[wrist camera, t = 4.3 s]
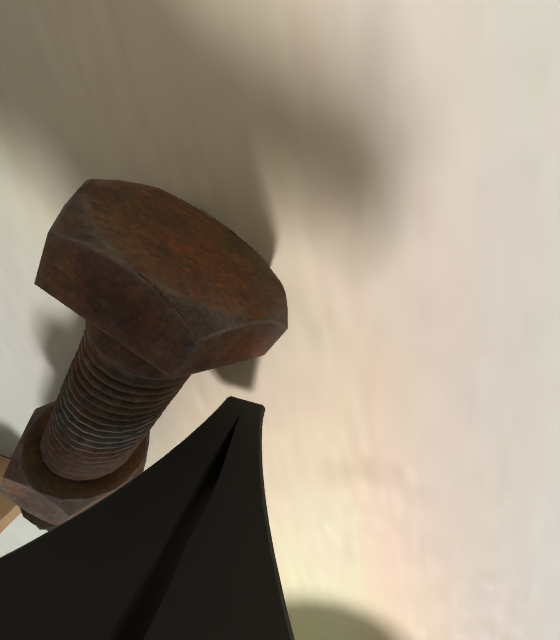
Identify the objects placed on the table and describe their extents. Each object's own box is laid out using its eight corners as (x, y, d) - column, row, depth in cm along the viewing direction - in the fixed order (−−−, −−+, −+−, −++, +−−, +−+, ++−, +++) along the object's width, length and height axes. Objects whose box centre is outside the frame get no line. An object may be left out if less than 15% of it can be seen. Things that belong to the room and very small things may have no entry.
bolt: (107, 426, 16) (232, 217, 10) (141, 506, 14) (321, 315, 8) (-41, 477, 11) (13, 131, 5) (-18, 608, 10) (115, 333, 3)
